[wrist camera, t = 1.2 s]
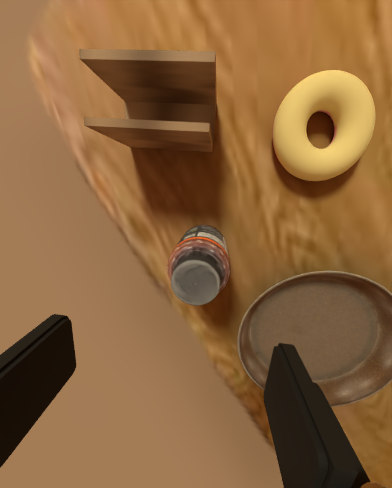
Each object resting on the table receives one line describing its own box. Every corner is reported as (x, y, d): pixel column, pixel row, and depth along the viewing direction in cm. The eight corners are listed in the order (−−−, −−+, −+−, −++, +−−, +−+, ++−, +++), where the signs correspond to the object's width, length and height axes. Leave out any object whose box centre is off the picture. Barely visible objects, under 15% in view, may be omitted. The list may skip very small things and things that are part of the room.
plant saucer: (207, 315, 30) (206, 330, 26) (337, 230, 24) (355, 236, 21) (286, 404, 32) (294, 428, 29) (418, 345, 27) (445, 366, 24)
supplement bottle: (207, 274, 28) (199, 330, 17) (173, 248, 27) (143, 287, 16) (236, 243, 26) (248, 281, 15) (200, 214, 25) (187, 232, 15)
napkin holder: (216, 103, 22) (215, 51, 14) (212, 152, 23) (208, 132, 15) (129, 99, 23) (79, 48, 15) (130, 147, 24) (84, 125, 16)
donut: (277, 186, 26) (363, 162, 23) (284, 194, 22) (389, 166, 19) (262, 98, 22) (362, 56, 19) (267, 89, 18) (394, 33, 15)
